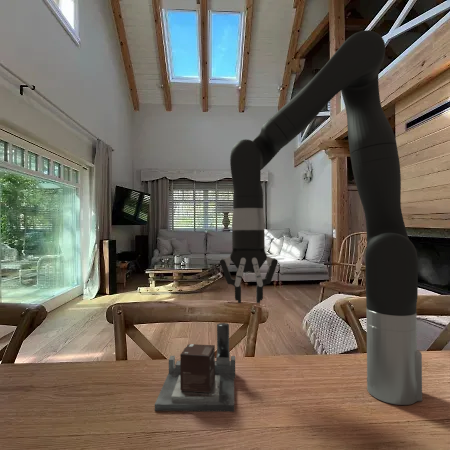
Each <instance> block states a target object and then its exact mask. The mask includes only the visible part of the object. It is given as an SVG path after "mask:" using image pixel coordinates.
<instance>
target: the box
mask: <svg viewBox="0 0 450 450" xmlns="http://www.w3.org/2000/svg"><path fill="white" fill-rule="evenodd" d="M215 349H216V347H215V345H214V344H213V345H212V344H195V343H194V344H193V343H192V344H191V343H189V344H187V345H186V347H184V348H183V351H182V352H181V353H180V355H179V356H180V360H179V361H180V390H181V391H194V392H210V390H211V388H212V386H213V383H214V381H215V361H216V357H215V355H216V354H215V353H216V351H215Z"/></svg>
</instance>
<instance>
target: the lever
mask: <svg viewBox="0 0 450 450" xmlns="http://www.w3.org/2000/svg"><path fill="white" fill-rule="evenodd" d="M230 355H231V353H230V324H229V323H225V322H220V323H217V325H216V357H215V361H216V365H230V361H231V356H230Z"/></svg>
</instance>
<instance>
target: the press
mask: <svg viewBox="0 0 450 450" xmlns="http://www.w3.org/2000/svg"><path fill="white" fill-rule="evenodd" d="M235 380H236V356H235V355H231V356H230V365H216V360H215V381H214V383H213V386H212V388H211V390H210V392H194V391H181V390H180V360H177V361H176V356H175V355H170V356H169V358H168V374H167V376H166V378H165V380H164V382H163V385H162V387H161V390H160V392H159V394H158V397H157V398H156V400H155V402H154V412H227V413H228V412H233V413H234V412H235Z"/></svg>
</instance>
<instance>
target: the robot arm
mask: <svg viewBox="0 0 450 450" xmlns="http://www.w3.org/2000/svg"><path fill="white" fill-rule="evenodd" d="M385 55H386V43H385V40H384V38H383V36H381V34H379V33H378V32H376V31H374V30H364V29H363V30H361V31H358V32H355V33H353V34H352V35H351V36H349V37H348V38H346V39H345V40H344V42H343V43H342V44H341V45H340V46H339V48H338V49H337V50H336V51H335V52H334V54H333V55H332V56H331V57H330V58H329V60H328V61H327V62H326V64H325V65H324V66H322V68H321V69H320V70H319V71H318V72H317V73H316V74H315V75H314V76H313V77H312V78H311V80H309V81H308V82H307V84H306V85H305V86H303V88H302V89H300V90H299V92H298V93H296V95H294V97H292V98H291V99H290V100H288V101H287V103H285V105H283V106H282V107H281V108H280V109H278V110H277V112H275V113H274V114H273V115H272V116H271V117H270V118H269V119H268V120H267V121H265V123H263V124H262V126H261V128H260V132H259V134H258V135H256V137H254V138H253V139H252V140H250V139H241V140H239V141H237V142H236V143H234V145H233V147H232V148H231V151H230V157H229V163H230V164H229V165H230V173H231V174H230V175H231V181H232V187H233V188H232V189H233V193H232V216H231V217H232V219H231V228H232V229H231V231H232V234H231V243H232V244H231V245H232V246H231V248H232V249H231V253H230V256H228V257H225V258H220V260H219V264H220V267H221V270H222V272H223V275H224V278H225V281H226V283H227V284H228V285H230V286H231V285H232V286H233V288H234V299H235V301H237V303H238V304H241V303H242V286H241V281H242V278H243V273H248V272H250V273H254V276H255V280H256V286H255V287H256V288H255V290H256V292H255V293H256V294H255V295H256V296H255V297H256V299H255V300H256V304H260V303H261V301H263V299H264V287H265V286H266V285H270V284H271V282H272V280H273V278H274V274H275V271H276V268H277V266H278V261H279V260H277V259H276V258H273V257H269V256H267V253H266V250H265V248H266V246H265V244H266V243H265V241H266V240H265V227H266V223H265V214H264V191H263V186H262V183H261V175H262V174H261V173H262V172H261V171H262V170H263V169H264V168H265V167H266V166H268V164H269V163H271V161H272V160H273V159H274V158H275V157H276V155H277V154H279V152H280V151H281V149H283V148H284V147H285V146H287V145H288V144H289V143H290V142H291V141H293V140H294V139H295V138H296V137H298V135H300V134H301V133H302V132H303V131H304V130H305V129H306V128H307V127H308V126H309V125H310V124H311V123H312V122H313V121H314V120H315V119H316V117H317V116H318V115H319V114H320V113H321V111H322V110H323V109H324V108H325V107H326V105H328V104H329V102H330V101H332V99H333V98H334V97H336V95H338V94H339V93H340V92H341V96H342V100H343V103H344V107H345V111H346V121H347V122H346V123H347V124H346V125H347V136H348V137H347V138H348V147H349V148H348V149H349V157H350V162H351V168H352V174H353V179H354V182H355V185H356V190H357V193H358V196H359V199H360V202H361V204H362V205H361V206H362V208H363V212H364V218H365V228H366V229H365V230H366V249H365V254H364V255H365V260H364V261H365V262H364V263H365V268H364V269H365V270H364V271H365V302H366V303H365V304H366V305H365V307H366V314H365V315H366V388H367V389H366V390H367V391H368V393H369V394H370V395H371V396H372V397H374V398H376V399H378V400H379V401H382V402H384V403H387V404H391V405H399V406H408V405H412V404H415V403H416V402H422V401H423V359H422V358H423V354H422V352H421V351H420V350H418V343H417V342H418V340H417V339H418V337H417V336H418V333H417V332H418V331H417V328H418V327H417V323H418V321H417V306H418V305H417V303H418V297H419V295H418V294H419V293H418V291H419V290H418V288H419V287H418V286H419V285H418V283H419V281H418V280H419V278H418V277H419V275H418V274H419V273H418V272H419V271H418V270H419V266H418V261H419V260H418V253H417V249H416V247H415V245H414V243H413V242H412V241H411V240H410V239H409V235H408V233H407V228H406V225H405V222H404V217H403V211H402V204H401V203H402V202H401V197H402V196H401V195H402V193H401V192H402V178H401V177H402V175H401V174H402V173H401V162H400V157H399V152H398V151H399V150H398V143H397V139H396V136H395V133H394V131H393V128H392V125H391V124H390V121H389V119H388V117H386V114H385V112H384V110H383V107H382V103H381V97H380V96H381V95H380V88H379V87H380V85H379V74H380V70H381V67H382V65H383V63H384V59H385ZM231 262H232V263H233V264H234V266H235V267H236V269H237V270H236V275H235V279H234V278H232V275H231V272H230V270H229V268H228V267H230V265H231V264H230V263H231ZM265 262H266V266H267V267H268V268H267V271H266V274H265V277H264V278H262V274H261V270H260V269H261V268H262V266H263V265H264V264H265Z"/></svg>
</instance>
